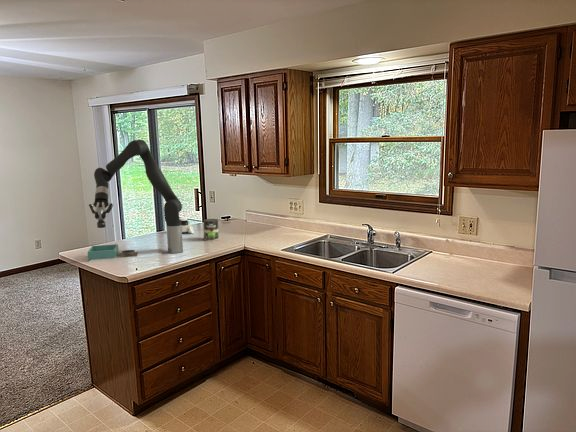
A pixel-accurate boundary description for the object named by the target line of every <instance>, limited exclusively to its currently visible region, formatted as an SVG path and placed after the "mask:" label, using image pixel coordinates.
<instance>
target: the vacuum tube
mask: <svg viewBox="0 0 576 432" xmlns="http://www.w3.org/2000/svg"><path fill="white" fill-rule="evenodd" d="M97 215H98V219H97V222H96V227H97V228H98V229H102V228H106V227H107V226H106V221H105V219H103V207H97Z"/></svg>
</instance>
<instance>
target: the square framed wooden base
mask: <svg viewBox="0 0 576 432" xmlns="http://www.w3.org/2000/svg"><path fill="white" fill-rule="evenodd" d="M138 255H139V251H135V249H126V250H125V249H124V250H121V252H118V254H117V256H116V258H117V259H119V258H131V257H137V256H138Z"/></svg>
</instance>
